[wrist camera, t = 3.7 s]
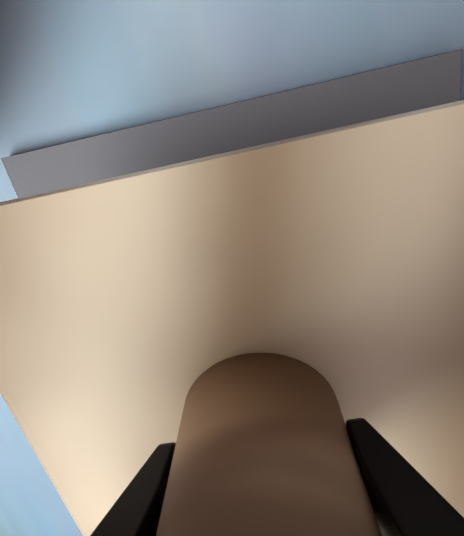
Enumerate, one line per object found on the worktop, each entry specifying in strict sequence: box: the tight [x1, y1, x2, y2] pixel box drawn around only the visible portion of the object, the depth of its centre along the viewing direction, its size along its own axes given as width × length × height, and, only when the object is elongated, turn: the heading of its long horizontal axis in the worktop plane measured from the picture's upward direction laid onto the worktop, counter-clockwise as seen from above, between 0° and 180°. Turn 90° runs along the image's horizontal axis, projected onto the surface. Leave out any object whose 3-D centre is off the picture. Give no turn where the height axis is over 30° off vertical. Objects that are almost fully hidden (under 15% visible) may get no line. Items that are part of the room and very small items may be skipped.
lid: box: [0, 100, 464, 536], centre depth 8 cm, size 13×13×5 cm
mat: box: [1, 49, 462, 198], centre depth 14 cm, size 15×15×1 cm
